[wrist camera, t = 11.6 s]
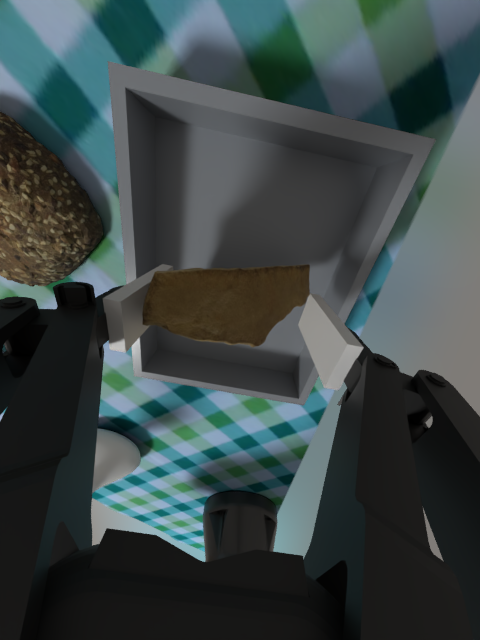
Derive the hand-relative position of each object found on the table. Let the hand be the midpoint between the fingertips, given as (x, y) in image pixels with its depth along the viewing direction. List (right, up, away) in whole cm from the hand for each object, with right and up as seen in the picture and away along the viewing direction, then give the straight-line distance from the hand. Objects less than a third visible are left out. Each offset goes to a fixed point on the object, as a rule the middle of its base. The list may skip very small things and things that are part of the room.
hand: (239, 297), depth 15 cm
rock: (0, +1, +2) cm, 2 cm away
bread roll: (-19, +9, +3) cm, 21 cm away
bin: (0, +3, +5) cm, 5 cm away
